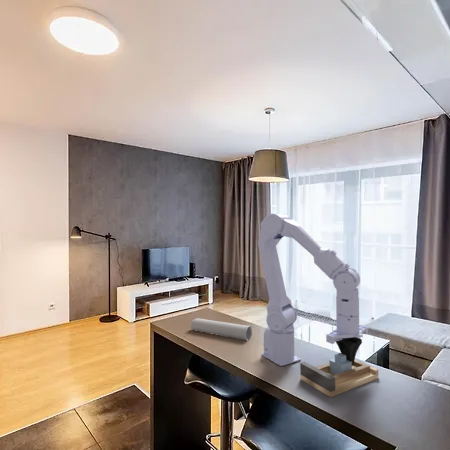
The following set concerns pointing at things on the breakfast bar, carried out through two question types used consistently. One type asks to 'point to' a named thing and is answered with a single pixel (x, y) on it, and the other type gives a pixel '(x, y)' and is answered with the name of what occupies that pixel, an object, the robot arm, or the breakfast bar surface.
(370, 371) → the track
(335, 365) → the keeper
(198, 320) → the tube
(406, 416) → the breakfast bar surface
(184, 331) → the breakfast bar surface
